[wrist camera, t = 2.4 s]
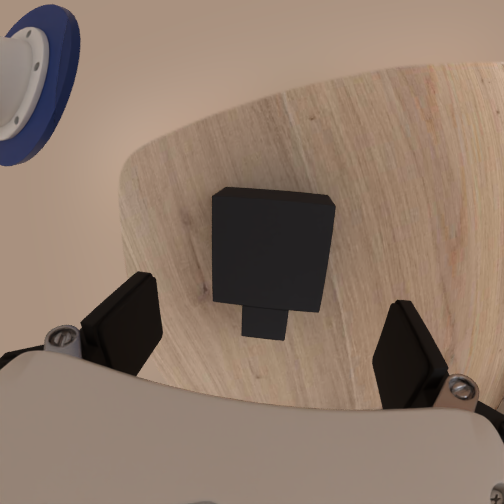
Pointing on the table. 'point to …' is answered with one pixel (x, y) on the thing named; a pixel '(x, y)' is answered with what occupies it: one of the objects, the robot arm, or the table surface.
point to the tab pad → (270, 254)
